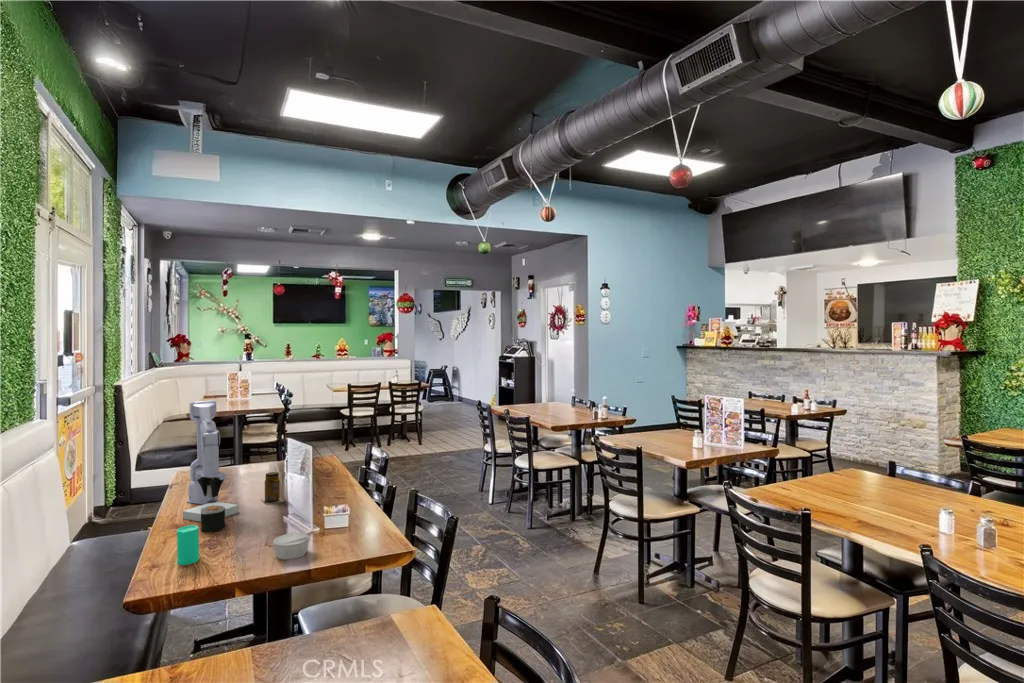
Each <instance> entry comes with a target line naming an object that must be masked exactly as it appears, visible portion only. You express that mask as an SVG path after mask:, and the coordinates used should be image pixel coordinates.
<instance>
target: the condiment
mask: <svg viewBox="0 0 1024 683" xmlns="http://www.w3.org/2000/svg"><path fill="white" fill-rule="evenodd" d="M279 475H280V474H279V472H277V471H271V472H267V473H265V480H264V499H263V498H262V499H261V502H263V503H264V504H266V505H272V504H277V503H282V502H284V500H283V499H282V498H280V497H281V496H280V495H281V487H280V486H281V485H280V478H279Z"/></svg>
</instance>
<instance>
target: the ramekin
mask: <svg viewBox="0 0 1024 683" xmlns="http://www.w3.org/2000/svg"><path fill="white" fill-rule="evenodd" d="M309 542H310V535H309V534H308V533H304V532H292V533H286V534H283V535H279V536H277V537H275V538H274V539H273V540H272V545H273V548H274V555H275V557H276V558H277V559H279V560H285V561H286V559H290V560H295V559H294V558H296V559H298V557H299V558H301V557H303V556H305V553H307V552H308V547H309Z"/></svg>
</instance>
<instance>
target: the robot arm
mask: <svg viewBox="0 0 1024 683" xmlns="http://www.w3.org/2000/svg"><path fill="white" fill-rule="evenodd" d="M216 414H217V401H216V400H214V399H212V400H198V401H197V400H196V401H192V400H191V402H189V418H190V420H191V421H194V423H195V425H196V448H197V450H196V453H197V454H196V455H197V458H196V459H195V460H194V461H192V462H191V464H190V467H189V468H190V469H189V478H190V479H189V480H190V481H191V482H190V483H189V485H188V500H186V502H187V503H190V504H191V503H192V504H198V505H204V504H207V503H206V499H207V484H210V486H211V491H212V497H216V496H218V497H219V494H220V493H219V492H220V491H221V490H220V489H221V487H222V484H223V482H224V481H225V480H227V474H226V473H223V472H221V471H219V470H220V469H219V468H220V467H219V466H220V465H219V464H220V462H219V461H220V460H219V459H220V458H219V456H220V455H219V446H220V444H221V435H220V431H219V430H217V426H216V425H217V424H216V422H215V421H214V420H213V419H214V418H215V415H216Z"/></svg>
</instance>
